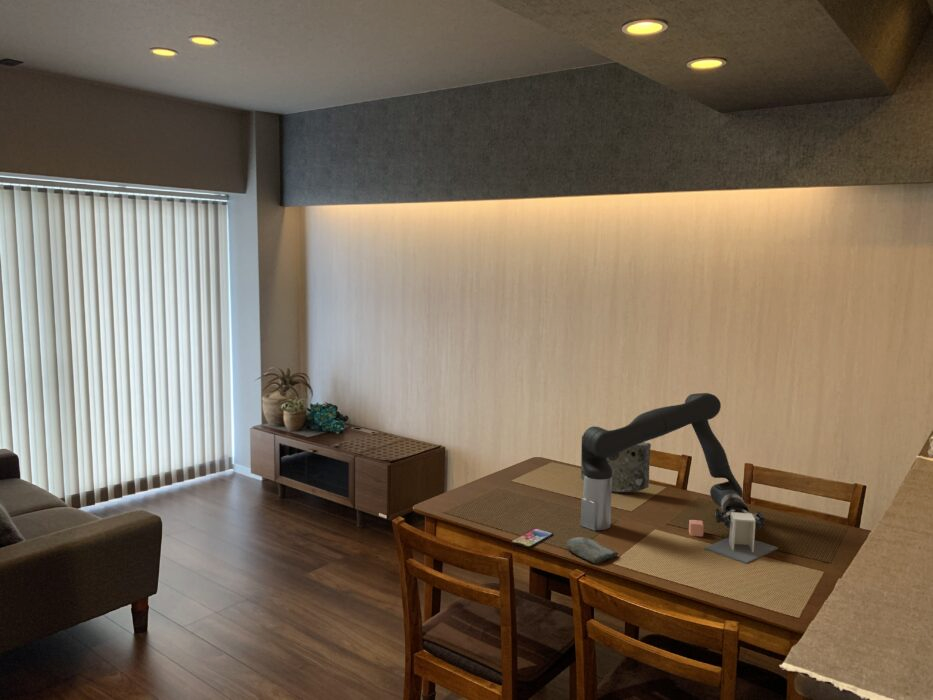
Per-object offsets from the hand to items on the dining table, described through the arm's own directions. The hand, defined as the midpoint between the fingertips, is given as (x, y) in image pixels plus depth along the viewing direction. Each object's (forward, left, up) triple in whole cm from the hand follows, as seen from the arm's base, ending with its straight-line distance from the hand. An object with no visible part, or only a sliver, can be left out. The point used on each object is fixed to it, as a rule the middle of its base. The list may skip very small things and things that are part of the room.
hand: (743, 525), depth 222 cm
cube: (+1, +17, -8) cm, 19 cm away
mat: (+1, +1, -8) cm, 8 cm away
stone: (-39, +28, -8) cm, 48 cm away
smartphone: (-44, +47, -9) cm, 65 cm away
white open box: (+1, +1, -7) cm, 8 cm away
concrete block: (+16, +64, -8) cm, 66 cm away
